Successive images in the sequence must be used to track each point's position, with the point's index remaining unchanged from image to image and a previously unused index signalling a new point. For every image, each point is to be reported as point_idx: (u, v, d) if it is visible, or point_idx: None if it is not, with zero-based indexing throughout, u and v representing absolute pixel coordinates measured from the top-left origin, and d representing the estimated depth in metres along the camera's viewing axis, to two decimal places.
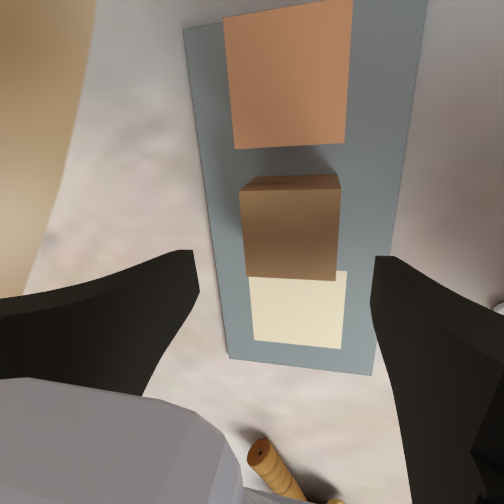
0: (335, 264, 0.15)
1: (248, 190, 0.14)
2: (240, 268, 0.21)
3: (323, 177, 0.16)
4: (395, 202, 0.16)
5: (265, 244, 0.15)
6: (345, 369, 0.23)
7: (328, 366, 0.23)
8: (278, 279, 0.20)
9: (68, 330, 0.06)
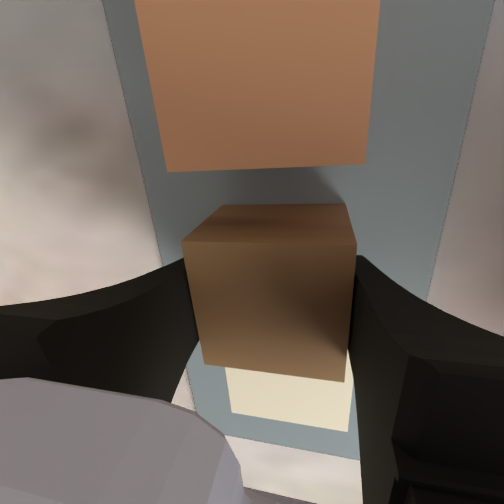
0: (344, 359, 0.09)
1: (197, 240, 0.08)
2: None
3: (324, 211, 0.10)
4: (435, 247, 0.11)
5: (230, 322, 0.09)
6: (353, 455, 0.17)
7: (330, 450, 0.17)
8: None
9: (108, 335, 0.06)
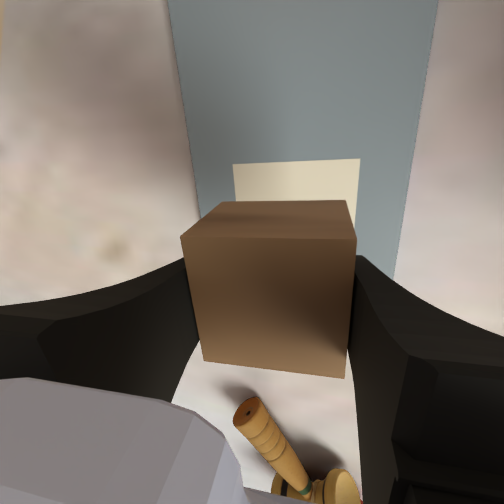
0: (344, 355, 0.09)
1: (196, 235, 0.08)
2: (223, 168, 0.16)
3: (324, 207, 0.10)
4: (429, 41, 0.12)
5: (230, 318, 0.09)
6: None
7: None
8: (271, 179, 0.16)
9: (108, 335, 0.06)
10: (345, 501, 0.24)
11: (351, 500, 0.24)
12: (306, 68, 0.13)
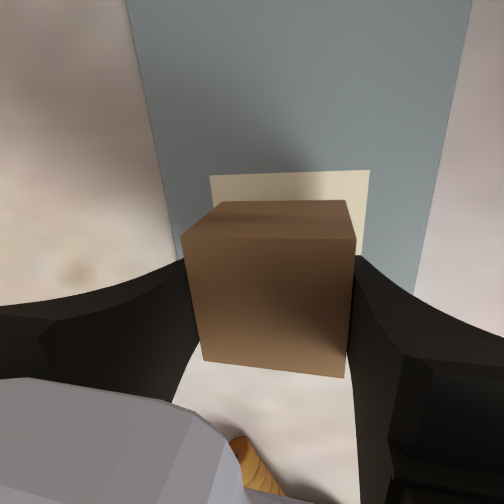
0: (344, 355, 0.09)
1: (196, 235, 0.08)
2: (198, 180, 0.13)
3: (324, 207, 0.10)
4: (466, 14, 0.09)
5: (230, 318, 0.09)
6: None
7: None
8: (258, 194, 0.13)
9: (109, 335, 0.06)
10: None
11: None
12: (300, 52, 0.10)
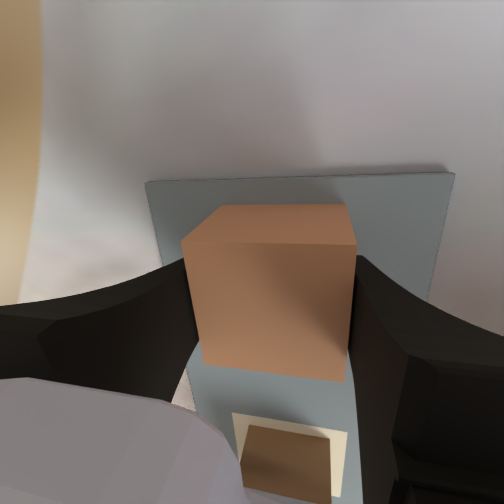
0: None
1: None
2: (223, 413, 0.18)
3: (316, 454, 0.16)
4: None
5: None
6: None
7: None
8: None
9: (108, 335, 0.06)
10: None
11: None
12: None
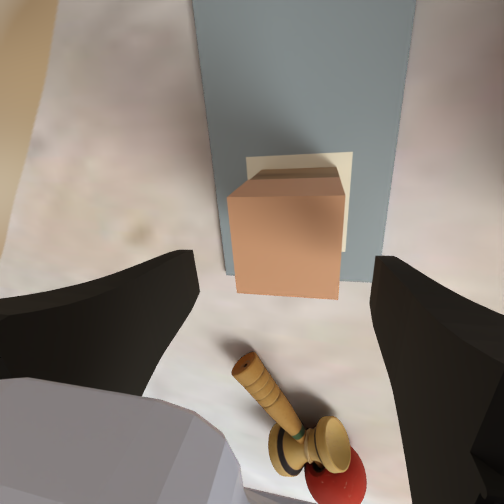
0: None
1: None
2: (238, 160, 0.19)
3: (324, 169, 0.17)
4: (406, 57, 0.15)
5: None
6: (350, 277, 0.21)
7: None
8: None
9: (68, 330, 0.06)
10: (335, 444, 0.26)
11: (341, 443, 0.27)
12: (308, 77, 0.16)
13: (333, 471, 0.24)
